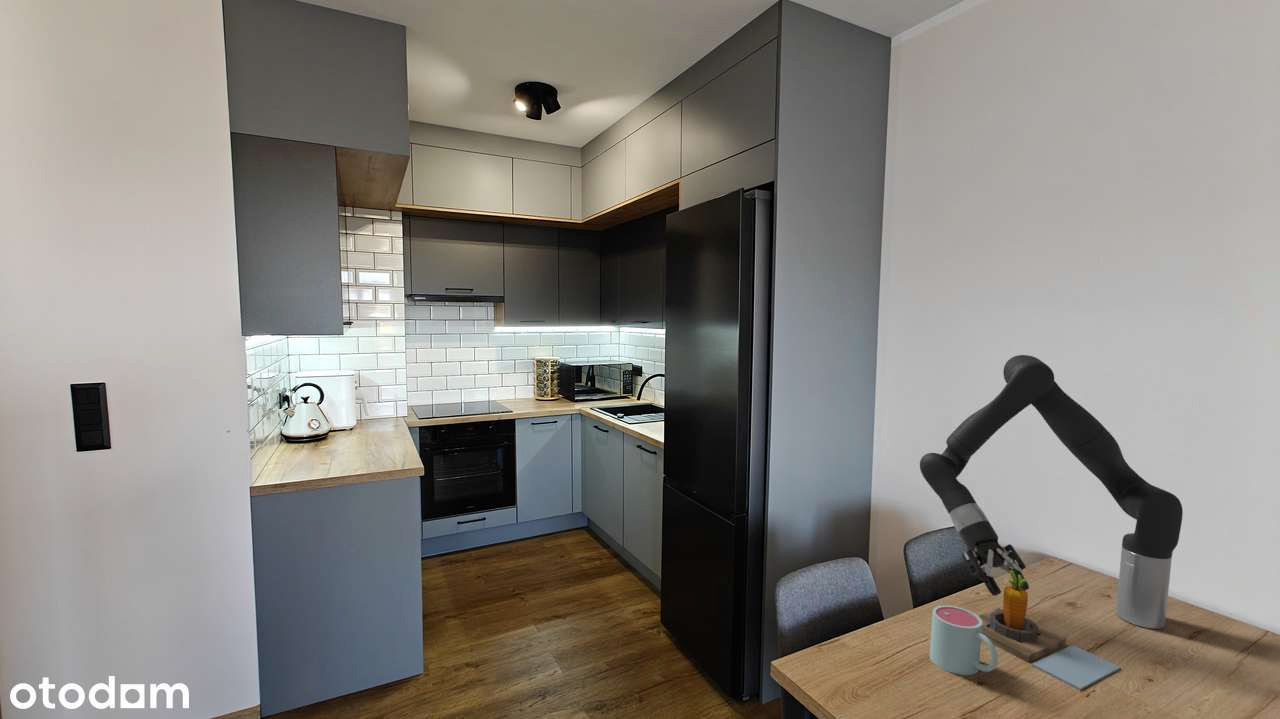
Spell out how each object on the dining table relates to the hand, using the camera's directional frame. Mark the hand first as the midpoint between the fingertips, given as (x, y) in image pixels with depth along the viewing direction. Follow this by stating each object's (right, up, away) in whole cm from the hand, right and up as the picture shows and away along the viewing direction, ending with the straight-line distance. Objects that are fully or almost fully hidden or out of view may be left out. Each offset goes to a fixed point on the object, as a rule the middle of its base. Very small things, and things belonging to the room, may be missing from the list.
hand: (1011, 592), depth 135 cm
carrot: (0, -10, 0) cm, 10 cm away
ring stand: (0, -10, 0) cm, 10 cm away
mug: (-18, -11, -13) cm, 25 cm away
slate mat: (+6, -11, -12) cm, 17 cm away
